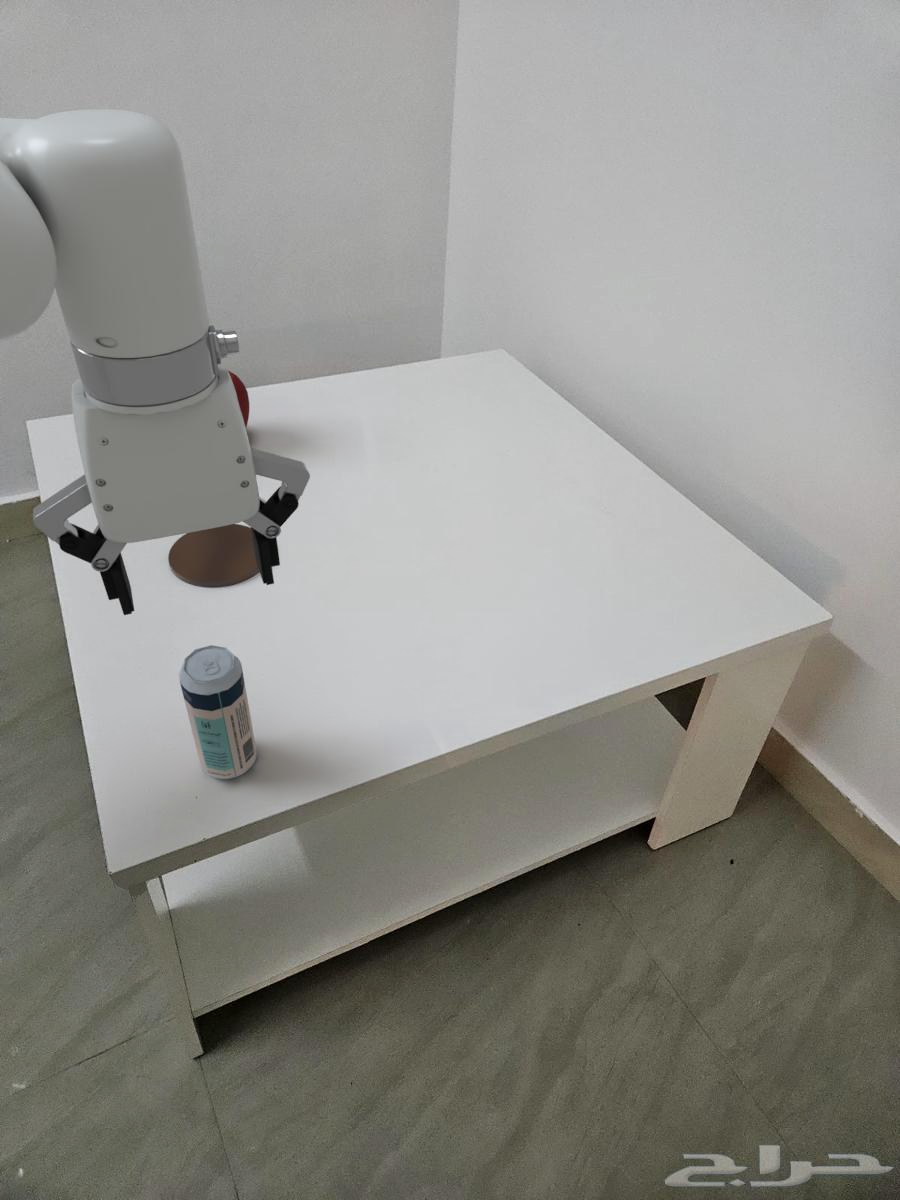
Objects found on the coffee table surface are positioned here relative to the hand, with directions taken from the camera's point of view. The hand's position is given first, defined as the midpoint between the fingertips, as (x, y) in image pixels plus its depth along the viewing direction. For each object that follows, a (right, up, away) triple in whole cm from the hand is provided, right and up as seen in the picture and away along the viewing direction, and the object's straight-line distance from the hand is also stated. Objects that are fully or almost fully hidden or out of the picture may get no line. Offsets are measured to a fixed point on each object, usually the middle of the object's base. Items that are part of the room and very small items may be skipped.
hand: (198, 587), depth 58 cm
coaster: (-8, +4, +34) cm, 35 cm away
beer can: (-1, -15, +13) cm, 20 cm away
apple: (-13, +20, +53) cm, 58 cm away
